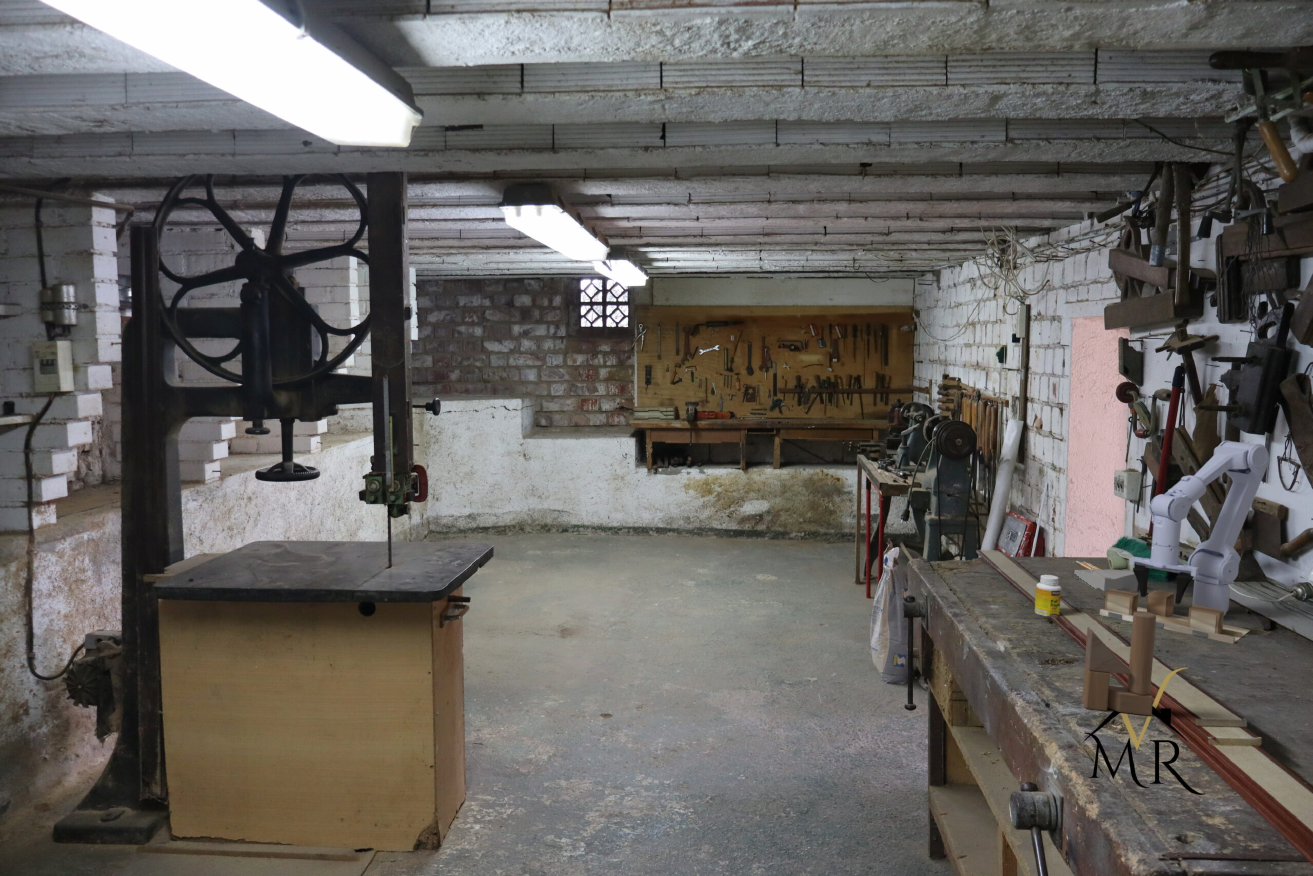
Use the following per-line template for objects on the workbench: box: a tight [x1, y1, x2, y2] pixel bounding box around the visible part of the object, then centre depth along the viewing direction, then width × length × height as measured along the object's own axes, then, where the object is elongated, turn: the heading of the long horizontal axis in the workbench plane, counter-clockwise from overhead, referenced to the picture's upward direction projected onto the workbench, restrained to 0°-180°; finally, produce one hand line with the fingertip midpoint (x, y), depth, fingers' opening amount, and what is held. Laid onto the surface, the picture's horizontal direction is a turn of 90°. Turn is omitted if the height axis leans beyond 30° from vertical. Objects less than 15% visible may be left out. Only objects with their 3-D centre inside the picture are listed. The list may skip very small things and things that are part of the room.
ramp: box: [1073, 568, 1139, 592], centre depth 251 cm, size 28×16×5 cm, turn 155°
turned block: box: [1146, 589, 1175, 617], centre depth 217 cm, size 4×6×6 cm
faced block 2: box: [1187, 605, 1225, 634], centre depth 204 cm, size 4×6×6 cm
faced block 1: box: [1104, 589, 1139, 616], centre depth 216 cm, size 4×6×6 cm
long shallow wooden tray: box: [1099, 606, 1251, 645], centre depth 212 cm, size 15×28×2 cm, turn 44°
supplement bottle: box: [1034, 574, 1062, 618], centre depth 216 cm, size 6×6×10 cm
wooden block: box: [1081, 611, 1156, 716], centre depth 160 cm, size 4×11×18 cm, turn 76°
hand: (1160, 599), depth 217 cm, fingers open, 7 cm apart
